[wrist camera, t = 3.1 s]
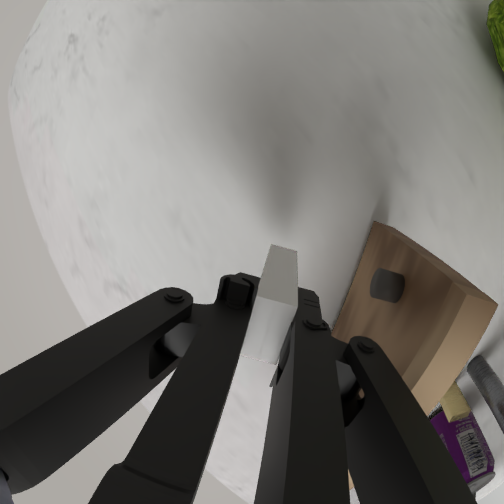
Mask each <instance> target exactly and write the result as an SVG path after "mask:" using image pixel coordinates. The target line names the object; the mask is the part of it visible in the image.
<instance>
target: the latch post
mask: <svg viewBox="0 0 504 504" xmlns="http://www.w3.org/2000/svg"><path fill="white" fill-rule="evenodd" d="M467 372H468V373H469V375H470V376H471V378H472V379H473V381H474V383H475V384H476V386H477V387H478V389H479V391H480V392H481V394H482V396H483V397H484V399H485V401H486V402H487V404H488V406H489V408H490V409H491V411H492V413H493V415H494V417H495V418H496V420H497V422H498V424H499V426H500V428H501V430H502V432H503V433H504V385H503V384H502V382H501V381H500V379H499V378H498V376H497V375H496V374H495V372H494V371H493V370H492V368H491V367H490V365H489V364H488V363H487V361H486V360H485V359H484V357H483V356H477V357H475V358H474V359H473V360H472V361H471V362H470V363H469V365H468V367H467Z"/></svg>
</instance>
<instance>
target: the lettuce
mask: <svg viewBox="0 0 504 504" xmlns="http://www.w3.org/2000/svg"><path fill="white" fill-rule="evenodd" d="M487 27H488V30H489V33H490V36H491V39H492V42H493V46H494V49H495V52H496V56H497V60H498V63H499V65H500V67H501V69H502V70H503V72H504V0H493V1H492V2H491V4H490V5H489V10H488V17H487Z"/></svg>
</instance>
